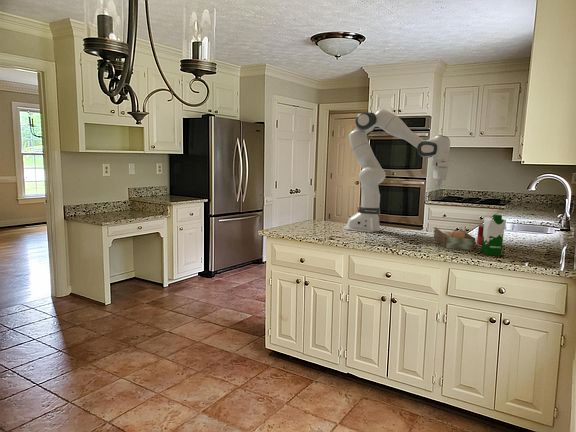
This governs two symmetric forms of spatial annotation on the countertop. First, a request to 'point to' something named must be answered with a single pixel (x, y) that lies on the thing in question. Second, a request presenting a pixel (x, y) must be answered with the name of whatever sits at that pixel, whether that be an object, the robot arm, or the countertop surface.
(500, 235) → the milk carton
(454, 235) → the block
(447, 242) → the trap box
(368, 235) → the countertop surface
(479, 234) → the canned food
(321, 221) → the countertop surface
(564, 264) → the countertop surface
